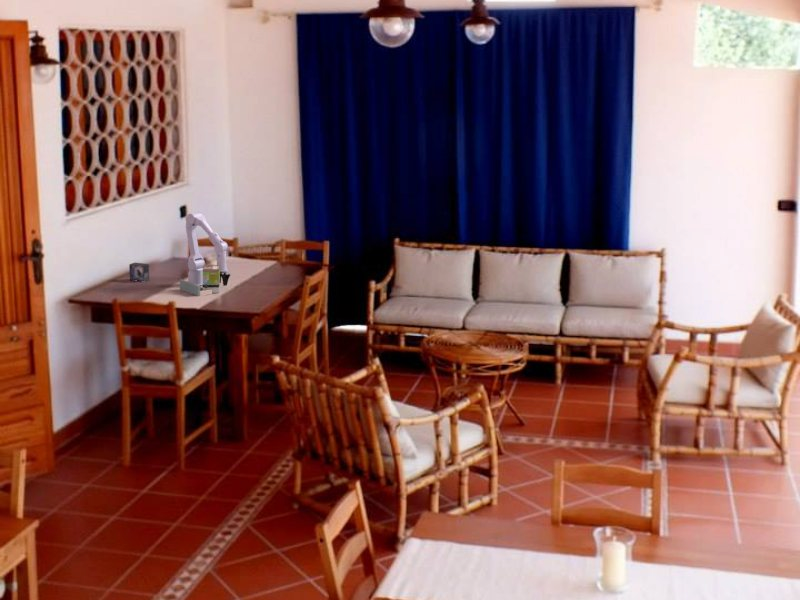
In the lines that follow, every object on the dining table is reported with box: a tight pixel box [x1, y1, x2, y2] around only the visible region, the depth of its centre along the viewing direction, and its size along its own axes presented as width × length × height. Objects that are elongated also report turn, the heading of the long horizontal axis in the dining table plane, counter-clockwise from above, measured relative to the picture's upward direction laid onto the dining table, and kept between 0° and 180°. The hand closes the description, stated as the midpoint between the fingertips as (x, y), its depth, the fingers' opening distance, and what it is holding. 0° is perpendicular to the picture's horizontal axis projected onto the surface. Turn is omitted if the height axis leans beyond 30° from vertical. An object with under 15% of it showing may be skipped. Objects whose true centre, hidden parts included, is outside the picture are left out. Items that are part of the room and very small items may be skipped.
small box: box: [128, 262, 150, 282], centre depth 720 cm, size 11×6×10 cm, turn 68°
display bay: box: [179, 278, 213, 297], centre depth 691 cm, size 22×9×6 cm, turn 38°
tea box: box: [202, 264, 221, 294], centre depth 693 cm, size 15×10×15 cm
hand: (221, 284), depth 701 cm, fingers open, 7 cm apart
